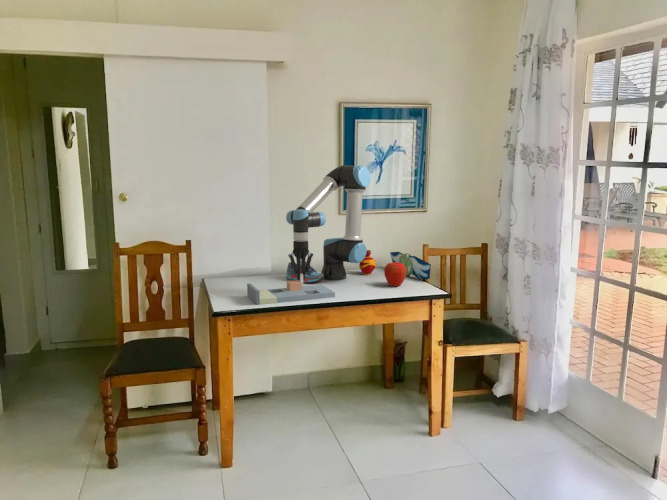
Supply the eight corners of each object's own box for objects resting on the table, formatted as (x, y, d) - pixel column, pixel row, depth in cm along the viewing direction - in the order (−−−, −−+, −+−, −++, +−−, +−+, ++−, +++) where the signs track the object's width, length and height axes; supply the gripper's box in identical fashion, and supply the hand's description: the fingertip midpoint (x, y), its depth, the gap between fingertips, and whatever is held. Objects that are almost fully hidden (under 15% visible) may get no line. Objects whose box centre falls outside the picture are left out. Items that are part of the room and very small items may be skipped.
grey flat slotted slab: (321, 289, 283) (321, 277, 282) (334, 297, 266) (335, 284, 265) (247, 296, 267) (247, 283, 266) (256, 304, 251) (256, 291, 250)
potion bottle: (361, 277, 314) (361, 252, 311) (357, 273, 324) (357, 249, 321) (378, 276, 316) (378, 251, 313) (373, 273, 326) (374, 249, 323)
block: (297, 287, 275) (297, 280, 275) (301, 290, 270) (301, 282, 269) (286, 288, 273) (286, 280, 273) (290, 291, 268) (290, 283, 267)
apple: (405, 289, 284) (405, 263, 282) (382, 288, 286) (383, 262, 284) (406, 284, 296) (407, 259, 294) (385, 283, 298) (385, 258, 296)
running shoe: (317, 286, 292) (317, 264, 290) (280, 280, 305) (280, 259, 303) (327, 282, 300) (327, 261, 298) (291, 277, 313) (291, 257, 311)
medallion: (384, 270, 336) (385, 248, 334) (391, 269, 338) (391, 248, 336) (424, 284, 295) (425, 260, 293) (432, 283, 297) (432, 259, 295)
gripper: (310, 238, 275) (310, 283, 279) (286, 240, 270) (286, 285, 274) (315, 240, 268) (315, 286, 272) (290, 241, 263) (291, 288, 267)
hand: (301, 285), depth 273 cm, fingers closed
